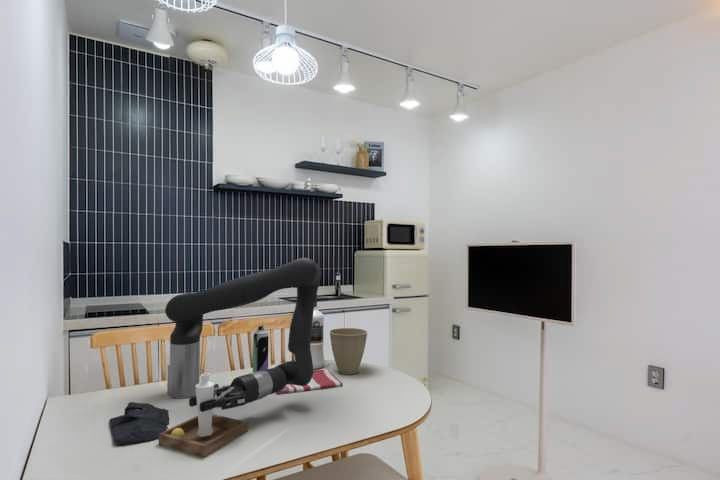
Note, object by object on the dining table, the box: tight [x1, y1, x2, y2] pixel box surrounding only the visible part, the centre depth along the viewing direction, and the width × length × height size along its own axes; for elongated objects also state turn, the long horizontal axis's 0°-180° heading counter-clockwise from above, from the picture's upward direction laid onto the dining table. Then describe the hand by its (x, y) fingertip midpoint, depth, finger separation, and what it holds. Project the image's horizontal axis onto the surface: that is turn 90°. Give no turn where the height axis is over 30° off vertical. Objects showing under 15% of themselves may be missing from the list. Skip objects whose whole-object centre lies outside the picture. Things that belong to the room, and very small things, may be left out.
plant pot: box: [329, 327, 368, 375], centre depth 166 cm, size 15×15×16 cm
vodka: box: [310, 293, 326, 370], centre depth 172 cm, size 9×9×30 cm
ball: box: [171, 428, 184, 438], centre depth 105 cm, size 3×3×3 cm
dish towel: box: [275, 369, 343, 395], centre depth 152 cm, size 17×23×3 cm
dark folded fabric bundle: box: [109, 401, 170, 446], centre depth 113 cm, size 15×22×5 cm
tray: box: [158, 413, 249, 459], centre depth 107 cm, size 15×15×3 cm
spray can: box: [252, 325, 269, 373], centre depth 154 cm, size 6×6×20 cm
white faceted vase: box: [195, 372, 215, 437], centre depth 107 cm, size 5×4×15 cm
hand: (195, 404), depth 105 cm, fingers closed on white faceted vase, 4 cm apart
